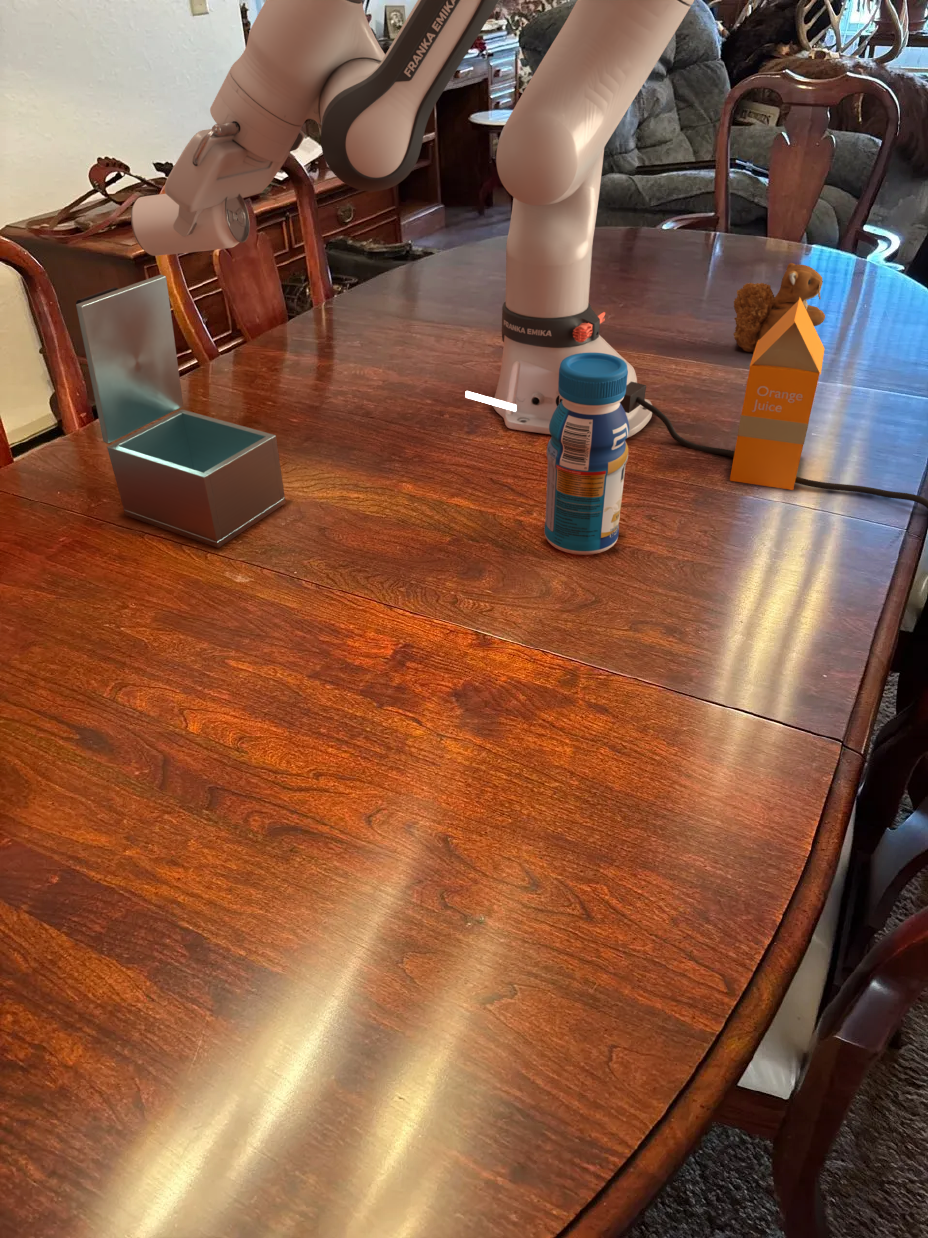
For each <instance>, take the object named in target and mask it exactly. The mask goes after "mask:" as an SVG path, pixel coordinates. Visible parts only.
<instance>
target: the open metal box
mask: <svg viewBox="0 0 928 1238" xmlns="http://www.w3.org/2000/svg"><path fill="white" fill-rule="evenodd" d="M278 447H279V446H278V441H277V435H276V434H273V433H269V432H267V431H266V432H265V431H263V430H262V431H261V430H258V429H254V428H251V427H247V426H243V425H240V424H236V423H233V422H230V421H226V420H222V419H219V418H216V417H211V416H208V415H204V414H200V413H196V412H193V411H191V410H186V409H180V410H178V411H175V412H174V413H172V414H169V415H168V416H166V417H164V418H162V419H159V420H157V421H155V422H154V423H152V424H150V425H148V426H145V427H143V428H142V429H140V430H138V431H136V432H133V433H132V434H130V435H127V436H125V437H124V438H122V439H119V440H118V441H116V442H113V443H112V444H110V445H107V446H106V449H107V452H108V455H109V459H110V464H111V467H112V472H113V475H114V479H115V482H116V486H117V489H118V493H119V498H120V500H121V505H122V508H123V512H124V515H125V516H127V517H128V518H132V519H135V520H137V521H141V522H143V523H146V524H149V525H150V526H154V527H157V528H160V529H163V530H166V531H168V532H172V533H174V534H176V535H180V536H182V537H185V538H188V539H191V540H194V541H196V542H200V543H202V544H205V545H208V546H211V547H213V548H216V549H219V548H221V547H222V546H224V545H225V544H227V543H228V542H230V541H231V540H233V539H234V538H236V537H238V536H239V535H241V534H242V533H244V532H245V531H246V530H248V529H249V528H251V527H253V526H254V525H255V524H257V523H258V522H260V521H262V520H263V519H264V518H266V517H268V516H269V515H270V514H272V513H273V512H275V511H276V510H278V509H279V508H281V507H282V506H284V505H285V504H287V501H286V495H285V488H284V482H283V474H282V468H281V462H280V454H279V448H278Z"/></svg>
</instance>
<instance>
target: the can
mask: <svg viewBox="0 0 928 1238" xmlns="http://www.w3.org/2000/svg"><path fill="white" fill-rule="evenodd" d="M227 198H228V197H226V199H225V200H224V201H223V202H222V203H221V204H219V205H216V206H213V207H209V208H205V209H203V210H202V212H201V213H199V214H198V217H197V219H196V223H197V225H196V227H195V229H194V230H193V233H192V234H190V235H188V236H185V237H183V236H181V235H180V234H179V233H178V232H176V231H175V230H174V228H173V224H174V222H175V220H176V218H177V217H178V212H179V205H178V204H177V203H175V202H174V201H173V200H172V199H171V198H170V197H169V196H168V195H167V194H166V193H160V194H152V195H146V196H140V197H138V198H136V200H135V202H134V203H133V205H132V207H131V210H130V211H131V212H130V222H131V229H132V232H133V235H134V237H135V240H136V242H137V244H138V245H139V246H140V248H141V249H142V250H143V252H146V253H147V254H148V255H150V256H152V257H158V256H159V257H160V256H171V255H178V254H189V253H190V254H191V253H197V252H198V253H199V252H207V251H216V250H225V249H231V248H234V247H237V246H238V245H239V244H240V243H241V244H243V243H245V242H246V241H247V240H248V238H249V236H250V231H251V230H250V228H251V221H250V214H249V210H248V206H247V203H246V201H245V200H244V198H242V196H241V195H240V193H239V195H238V197H235V198H232V199H228V200H227Z"/></svg>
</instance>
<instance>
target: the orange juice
mask: <svg viewBox="0 0 928 1238" xmlns="http://www.w3.org/2000/svg"><path fill="white" fill-rule="evenodd" d="M815 327H816V326H814V325H813V323H812V321H811V319H810V317H809V315H808V313H807V311H806V309H805V307H804V305H803V302H802V300H801V298H799V300H798V301H797V302H796V303H795V304H794V305H793V306H792V307H791V308H790V309H789V310H788V311H787V312H786V313H785V314H784V315H783V316H782V317H781V319H780V320H779V321H778V322H777V323H776V324H775V325H774V326H773V327H772V328H771V329H770V330H769V331H768V332H767V333H766V334H765V335H764V336H763V337H762V338H761V339H760V340H758V342H757V344H756V347H755V350H754V351H753V354H752V356H751V360H750V363H749V369H748V375H747V379H746V382H745V383H746V384H745V392H744V398H743V403H742V409H741V414H740V417H739V418H740V419H739V424H738V429H737V436H736V442H735V447H734V451H735V453H734V457H733V459H732V465H731V471H730V475H729V481H731V482H738V483H744V484H749V485H756V486H762V487H763V486H764V487H770V488H776V489H784V490H789V491H790V490H791V491H794V488H795V484H796V483H795V480H796V476H797V474H798V471H799V466H800V462H801V458H802V454H803V453H802V452H803V448H804V445H805V441H806V436H807V433H808V428H809V425H810V424H809V423H810V417H811V413H812V410H813V407H814V406H815V405H814V402H815V397H816V394H817V388H818V386H819V384H820V383H819V381H820V380H819V379H820V376H821V375H822V370H823V361H824V355H825V350H826V349H825V346H824V344H823V342H822V340H821V338H820V336H819V334H818V331H817V329H816V328H815Z"/></svg>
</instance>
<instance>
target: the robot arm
mask: <svg viewBox="0 0 928 1238" xmlns="http://www.w3.org/2000/svg"><path fill="white" fill-rule="evenodd" d="M499 2H500V0H417V1H416V3H415V4H414V6H413V8H412V9H411V11H410V12H409V13H408V15H407V18H406V20H405V21H404V23H403V24H402V26H401V27H400V29H399V31H398V33H397V34H396V36H395V38H394V40H393V41H392V43H391V45H390V46H389V48H388V50H387V51H386V53H385V52H384V50H383V49H382V47H381V46H380V43H379V41H378V40H377V38H376V36H375V34H374V32H373V30H372V28H371V26H370V23H369V21H368V18H367V15H366V13H365V9H364V7H363V1H362V0H265V2H264V3H263V5H262V7H261V9H260V10H259V12H258V14H257V16H256V18H255V19H254V22H253V23H252V25H251V28H250V30H249V33H248V37H247V42H246V46H245V48H244V50H243V52H242V54H241V55H240V56H239V57H238V59H237V60H236V61H234V62H233V64H232V65H231V66H230V69H228V73H227V74H226V76H225V78H224V80H223V82H222V84H221V86H220V89H219V90H218V92H217V93H216V96H215V98H214V100H213V102H212V104H211V106H210V108H209V112H210V115H211V117H212V119H213V121H214V122H215V124H214V125H212V127H211V128H208V129H202V130H200V131H198V132H196V133H195V134H194V135H193V136H192V137H191V138H190V139H189V141H188V143H187V144H186V146H185V147H184V149H183V151H182V152H181V154H180V156H179V157H178V159H177V160H176V162H175V164H174V166H173V167H172V169H171V171H170V173H169V174H168V176H167V178H166V180H165V184H164V194H167V195H168V196H169V197H170V198H171V199H172V200H173V201H174V202H175V203H177V204H178V205H179V212H178V217H177V218H176V220H175V222H174V224H173V228H174V230H175V231H176V232H178V233H179V234H180V235H181V236H183V237H185V236H188V235H190V234H192V233H193V230H194V229H195V227H196V225H197V223H196V219H197V217H198V214H199V213H201V212H202V210H203V209H205V208H209V207H213V206H216V205H219V204H221V203H222V202H223V201H224V200H225V199H226V197H228V198H227V200H228V199H232V198H235V197H238V195H239V193H240V195H241V196H242V198H243V199H244V198H248V197H253V196H256V195H259V194H261V193H262V192H264V191H265V189H267V188H268V186H269V185H270V184H271V183H272V181H273V180H274V178H275V177H276V176H277V174H278V173H279V171H280V170H281V168H282V167H283V165H284V164H285V162H287V159H288V157H289V155H290V154H291V152H294V151H296V150H298V149H299V148H300V146H301V145H302V143H303V141H304V139H305V133H304V132H303V131H302V127H303V126H304V125H305V122H306V121H307V120H313V121H314V122H316V123H318V124H319V125H321V126H320V127H321V129H320V146H321V147H320V148H321V150H322V156H323V158H324V161H325V163H326V165H327V166H328V168H329V169H330V171H331V172H332V173H333V174H334V176H335V177H336V178H337V179H339V180H340V181H341V182H342V183H344V184H345V185H347V186H349V187H350V188H354V189H356V190H359V191H364V192H381V191H385V190H389V189H391V188H393V187H395V186H397V185H398V184H400V183H401V182H403V181H404V180H405V179H406V178H407V177H408V176H409V175H410V174H411V172H412V171H413V169H415V167H416V165H417V162H418V160H419V157H420V154H421V150H422V145H423V141H424V136H425V132H426V128H427V125H428V121H429V119H430V116H431V113H432V112H433V110H434V107H435V105H436V104H437V102H438V100H439V99H440V97H441V95H442V94H443V92H444V91H445V89H446V88H447V86H448V84H449V82H450V81H451V79H452V78H453V76H454V75H455V73H456V72H457V70H458V68H459V66H460V65H461V64H462V62H463V60H464V59H465V58H466V56H467V54H468V52H469V51H470V49H471V48H472V46H473V45H474V42H475V41H476V39H477V38H478V36H479V34H480V33H481V32H482V30H483V28H484V27H485V25H486V23H487V21H488V20H489V18H490V16H491V15H492V13H493V11H494V9H495V8H496V6H497V4H498V3H499ZM694 2H695V0H576V2H575V4H574V6H573V7H572V9H571V11H570V12H569V15H568V17H567V18H566V20H565V22H564V24H563V25H562V27H561V29H560V30H559V32H558V34H557V35H556V37H555V38H554V40H553V42H552V43H551V45H550V47H549V48H548V50H547V51H546V53H545V55H544V57H543V58H542V60H541V61H540V63H539V65H538V67H537V68H536V70H535V71H534V73H533V75H532V77H531V78H530V80H529V82H528V83H527V85H526V87H525V89H524V90H523V92H522V94H521V96H520V98H519V99H518V101H517V102H516V104H515V106H514V108H513V109H512V111H511V113H510V115H509V116H508V118H507V120H506V122H505V124H504V126H503V128H502V130H501V132H500V135H499V138H498V142H497V148H496V156H495V157H496V158H495V164H496V171H497V175H498V177H499V180H500V183H501V184H502V186H503V187H504V189H505V190H506V192H507V193H508V194H509V195H510V196H512V199H513V200H512V205H511V206H512V207H511V215H510V221H509V227H508V234H507V238H506V248H505V249H506V250H505V256H506V257H505V301H504V302H503V304H502V309H501V314H502V315H501V340H502V343H503V347H502V356H501V357H502V358H501V366H500V372H499V376H498V382H497V386H496V390H495V393H494V397H491V396H486V395H483V394H479V393H476V392H472V391H469V390H466V391H465V398H466V399H469V400H473V401H477V402H479V403H480V402H481V403H484V404H487V405H491V406H492V408H493V409H494V411H495V412H496V413H497V414H498V415H499V416H500V417H502V418H503V420H504V425H505V427H506V428H508V429H510V430H515V431H516V430H517V431H523V432H528V433H529V432H530V433H538V434H545V435H551V434H550V431H549V424H550V420H551V418H552V415H553V413H554V411H555V410H556V408H557V406H558V405H559V404H560V402H561V401H562V399H561V397H560V395H559V391H558V382H559V368H560V364H561V362H562V360H564V359H565V358H566V357H568V356H571V355H574V354H579V353H604V354H609V355H613V356H616V357H618V358H620V359H622V360H623V361H625V363H626V364H627V370H628V376H627V386H626V393H625V396H624V398H623V400H622V401H621V402H620V403H621V405H622V407H623V409H624V411H625V413H626V415H627V418H628V422H629V435H628V437H627V438H626V439H628V438H631V437H632V436H634V435H636V434H638V433H639V432H640V431H641V430H642V429H643V428H645V427H646V425H647V424H649V422H650V421H651V419H652V417H653V414H654V416H656V417H657V418H658V419H659V420H661V422H662V423H663V424H664V426H665V427H666V429H667V431H668V433H669V435H670V436H671V437H672V439H673V440H674V441H675V442H677V443H679V444H680V445H682V446H684V447H685V448H690V449H691V450H696V451H700V452H704V453H708V454H712V455H719V456H725V457H730V458H734V453H735V450H731V449H726V448H720V447H719V448H718V447H712V446H705V445H701V444H696V443H693V442H691V441H689V440H686V439H685V438H684V437H682V436H681V435H680V434H678V433H677V432H676V430H675V428H674V426H673V424H672V422H671V421H670V419H669V418H668V417H667V415H665V414H664V413H663V412H662V411H661V410H660V409H658V408H657V407H655V406H654V405H653V403H652V402H651V400H650V399H648V398H646V390H647V384H643V383H639V382H638V377H637V374H636V370H635V368H634V367H633V365H631V363H629V362H628V360H626V359H625V358H624V357H623V356H622V355H620V353H618V351H617V350H616V349H615V348H614V347H613V346H611V345H610V343H608V342H607V341H606V340H605V338H603V336H601V335H600V329H601V328H600V327H601V324H602V323H604V322H605V319H606V318H605V315H606V312H605V311H603V312H602V313H600V314H597V313H596V312H595V311H594V309H593V308H592V306H591V304H590V302H589V301H590V289H591V288H590V286H591V272H592V271H591V270H592V258H593V257H592V256H593V246H594V245H593V244H594V236H595V229H596V221H597V214H598V206H599V200H600V191H601V181H602V174H603V163H604V154H605V147H606V145H607V143H608V142H609V140H610V139H611V137H612V135H613V134H614V132H615V131H616V129H617V128H618V126H619V124H620V123H621V121H622V119H623V118H624V116H625V114H626V113H627V111H628V109H629V108H630V106H631V105H632V103H633V102H634V100H635V98H636V97H637V95H638V94H639V92H640V91H641V89H642V87H643V86H644V84H645V83H646V81H647V80H648V78H649V76H650V75H651V73H652V72H653V69H654V68H655V66H656V65H657V63H658V62H659V60H660V58H661V57H662V55H663V54H664V51H665V50H666V48H667V46H668V45H669V43H670V42H671V39H672V38H673V37H674V35H675V33H677V30H678V29H679V27H680V25H681V24H682V22H683V20H684V19H685V17H686V15H688V13H689V10H690V9H691V7H692V6H693V4H694ZM795 484H798V485H802V486H805V487H810V488H816V489H823V490H829V491H830V490H831V491H839V492H840V491H843V492H851V493H852V492H854V493H861V494H867V495H873V496H878V497H881V498H882V497H884V498H887V499H888V498H889V499H897V500H905V501H911V502H914V503H917V504H920V505H922V506H923V507H925V508H926V509H928V499H927V498H926V497H923V496H921V495H918V494H914V493H909V492H901V491H892V490H886V489H881V488H876V487H870V486H863V485H855V484H846V483H834V482H825V481H817V480H812V479H807V478H805V477H799V476H797V475H796V480H795Z"/></svg>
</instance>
